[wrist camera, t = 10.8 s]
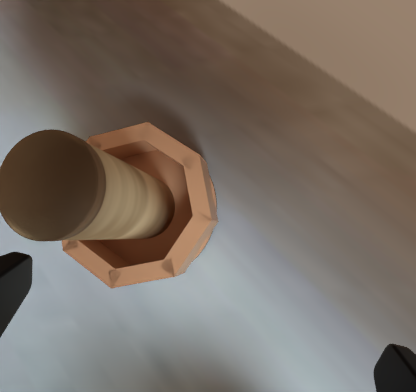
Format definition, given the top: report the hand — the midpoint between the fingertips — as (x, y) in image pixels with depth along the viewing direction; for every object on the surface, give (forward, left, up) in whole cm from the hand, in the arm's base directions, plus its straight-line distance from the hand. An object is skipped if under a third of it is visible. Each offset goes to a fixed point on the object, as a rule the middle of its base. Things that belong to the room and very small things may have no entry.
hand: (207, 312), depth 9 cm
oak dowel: (-5, +5, -12) cm, 14 cm away
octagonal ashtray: (-5, +5, -13) cm, 15 cm away
